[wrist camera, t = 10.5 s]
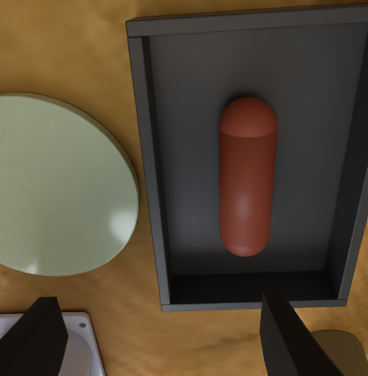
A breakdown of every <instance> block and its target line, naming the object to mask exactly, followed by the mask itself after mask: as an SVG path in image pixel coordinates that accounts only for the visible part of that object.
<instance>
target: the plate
mask: <svg viewBox="0 0 368 376" xmlns="http://www.w3.org/2000/svg"><path fill="white" fill-rule="evenodd" d="M139 207H140V190H139V185H138V180H137V176H136V173H135V171H134V168H133V165H132V163H131V161H130V159H129V158H128V156H127V154H126V152H125V151H124V149H123V148H122V147H121V145H120V144H119V142H118V141H117V140H116V139H115V138H114V137H113V136H112V134H111V133H110V132H109V131H108V130H107V129H106V128H104V127H103V126H102V125H101V124H100V123H99V122H98V121H96V120H95V119H93V118H92V117H91V116H89V115H88V114H86V113H85V112H83V111H81V110H79V109H77V108H76V107H74V106H72V105H70V104H67V103H65V102H62V101H60V100H57V99H54V98H51V97H47V96H43V95H39V94H32V93H18V92H9V93H1V94H0V264H2V265H4V266H6V267H9V268H11V269H15V270H18V271H21V272H25V273H30V274H34V275H42V276H69V275H75V274H80V273H84V272H87V271H90V270H93V269H95V268H97V267H100V266H102V265H103V264H105V263H107V262H108V261H110V260H111V259H112V258H114V257H115V256H116V255H117V254H118V253H119V252H120V251H121V250H122V249H123V248H124V247H125V246H126V244H127V242H128V241H129V239H130V238H131V236H132V233H133V231H134V229H135V226H136V222H137V218H138V214H139Z"/></svg>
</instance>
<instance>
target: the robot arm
mask: <svg viewBox="0 0 368 376" xmlns="http://www.w3.org/2000/svg"><path fill="white" fill-rule="evenodd" d="M260 337H261V343H262V349H263V355H264V361H265V365H266V369H267V373H268V376H344V374H343V373H342V372H341V371H340V370H339V369H338V367H337V366H336V365H335V364H334V363H333V361H332V360H331V359H330V358H329V356H328V355H327V354H326V353H325V351H324V350H323V349H322V348H321V346H320V345H319V344H318V342H317V341H316V340H315V338H314V337H313V336H312V334H311V333H310V332H309V330H308V329H307V328H306V326H305V325H304V323H303V322H302V320H301V319H300V318H299V316H298V315H297V313H296V312H295V310H294V309H293V307H292V306H291V304H290V302H289V301H288V299H287V298H286V296H285V294H284V293H283V292H282V291H263V298H262V310H261V322H260ZM0 376H105V373H104V369H103V365H102V362H101V358H100V354H99V351H98V347H97V343H96V340H95V336H94V333H93V329H92V325H91V322H90V318H89V315H88V314H87V313H85V312H62V313H61V310H60V307H59V303H58V300H57V297H39V298H38V299H37V300H36V301H35V302H34V303H33V304H32V305H31V307H30V308H29V309H28V310H27V311H26V312H25V313H24V314H0Z"/></svg>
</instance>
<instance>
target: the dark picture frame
mask: <svg viewBox="0 0 368 376" xmlns="http://www.w3.org/2000/svg"><path fill="white" fill-rule="evenodd" d="M125 24H126V32H127V37H128V38H127V41H128V49H129V57H130V64H131V72H132V80H133V88H134V96H135V104H136V112H137V120H138V128H139V136H140V144H141V152H142V159H143V167H144V175H145V183H146V191H147V199H148V207H149V215H150V223H151V231H152V239H153V247H154V254H155V262H156V270H157V278H158V286H159V294H160V302H161V310H162V312H163V311H198V310H234V309H262V298H263V291H282V292H283V293H284V294H285V296H286V298H287V299H288V301H289V302H290V304H291V306H292V307H293V308H306V307H342V306H346V305H347V300H348V296H349V291H350V287H351V283H352V279H353V275H354V271H355V267H356V262H357V258H358V254H359V250H360V246H361V242H362V237H363V233H364V229H365V225H366V221H367V217H368V2H363V3H347V4H332V5H316V6H300V7H284V8H269V9H253V10H237V11H221V12H206V13H190V14H174V15H158V16H143V17H135V18H132V19H130V20H127V21H126V22H125ZM242 97H257V98H260V99H262V100H264V101H265V102H267V103H268V104H269V105H270V106H271V107H272V108H273V110H274V112H275V114H276V116H277V120H278V133H277V146H276V159H275V172H274V184H273V197H272V210H271V223H270V235H269V240H268V242H267V244H266V246H265V247H264V248H263V249H262V250H261V251H260V252H259V253H257V254H255V255H252V256H247V257H246V256H238V255H235V254H233V253H231V252H230V251H229V250H228V249H226V247H225V246H224V245H223V243H222V241H221V238H220V231H219V120H220V117H221V114H222V113H223V111H224V109H225V108H226V107H227V106H228V105H229V104H230V103H231V102H233V101H234V100H236V99H239V98H242Z"/></svg>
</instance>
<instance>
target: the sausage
mask: <svg viewBox="0 0 368 376" xmlns="http://www.w3.org/2000/svg"><path fill="white" fill-rule="evenodd" d="M277 133H278V120H277V116H276V114H275V112H274V110H273V108H272V107H271V106H270V105H269V104H268V103H267V102H265V101H264V100H262V99H260V98H257V97H242V98H239V99H236V100H234V101H233V102H231V103H230V104H229V105H228V106H227V107H226V108H225V109H224V111H223V113H222V114H221V117H220V120H219V231H220V238H221V241H222V243H223V245H224V246H225V247H226V249H228V250H229V251H230V252H231V253H233V254H235V255H238V256H246V257H247V256H252V255H255V254H257V253H259V252H260V251H261V250H262V249H263V248H264V247H265V246H266V244H267V242H268V240H269V235H270V223H271V210H272V197H273V184H274V172H275V159H276V146H277Z"/></svg>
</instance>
